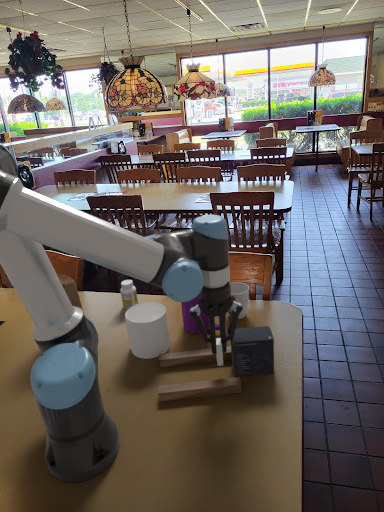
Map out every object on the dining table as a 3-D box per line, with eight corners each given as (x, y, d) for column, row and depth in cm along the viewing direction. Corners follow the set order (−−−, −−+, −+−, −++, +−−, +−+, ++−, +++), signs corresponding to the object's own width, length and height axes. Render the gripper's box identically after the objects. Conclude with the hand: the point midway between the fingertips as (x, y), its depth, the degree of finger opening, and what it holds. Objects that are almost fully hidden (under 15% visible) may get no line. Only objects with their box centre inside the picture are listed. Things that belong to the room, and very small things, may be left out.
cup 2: (220, 312, 126) (218, 286, 122) (241, 306, 129) (240, 279, 125) (233, 324, 119) (231, 296, 116) (254, 316, 122) (254, 289, 118)
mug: (195, 315, 126) (191, 274, 121) (234, 329, 117) (232, 286, 111) (177, 328, 120) (172, 286, 114) (217, 344, 111) (214, 299, 105)
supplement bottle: (133, 300, 139) (129, 277, 135) (141, 306, 135) (137, 281, 131) (120, 306, 136) (116, 282, 132) (128, 312, 132) (123, 287, 128)
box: (269, 357, 103) (269, 325, 99) (274, 373, 97) (275, 340, 93) (231, 360, 104) (229, 328, 100) (233, 376, 98) (231, 343, 94)
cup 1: (161, 362, 106) (155, 325, 101) (124, 356, 110) (117, 320, 105) (176, 337, 116) (172, 303, 111) (141, 332, 120) (136, 299, 115)
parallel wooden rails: (241, 392, 92) (241, 384, 92) (159, 401, 92) (158, 393, 91) (231, 353, 106) (231, 346, 105) (160, 361, 106) (159, 354, 105)
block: (90, 335, 121) (77, 279, 113) (68, 346, 116) (54, 288, 108) (73, 323, 128) (60, 270, 120) (52, 333, 123) (37, 278, 116)
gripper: (238, 271, 92) (241, 350, 102) (185, 276, 92) (193, 355, 101) (244, 285, 85) (247, 369, 95) (187, 291, 85) (196, 374, 94)
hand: (219, 362), depth 98 cm, fingers closed
